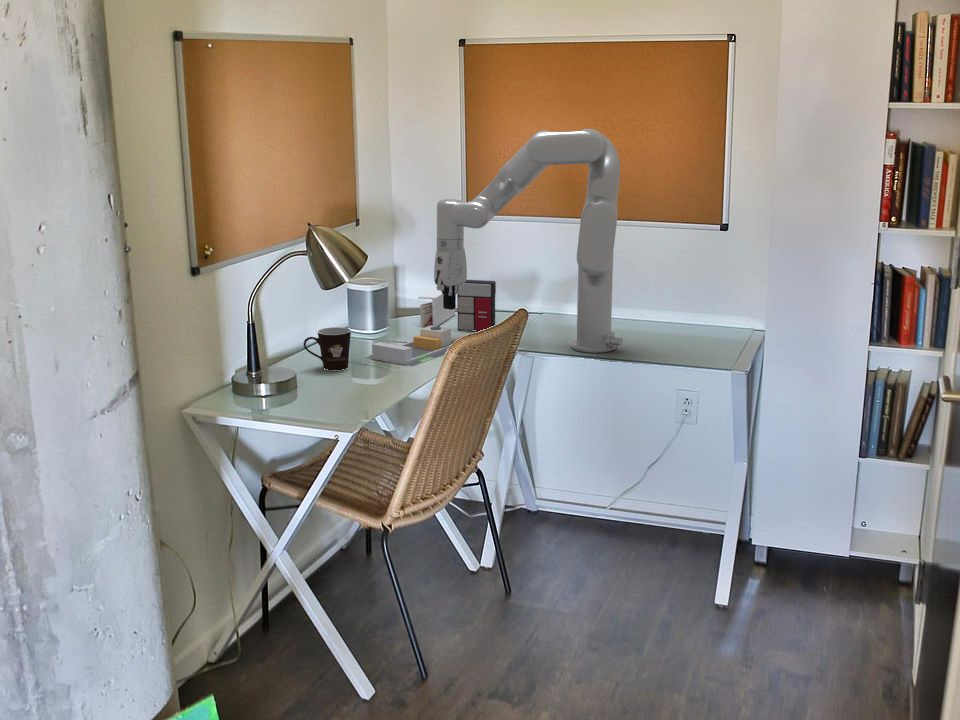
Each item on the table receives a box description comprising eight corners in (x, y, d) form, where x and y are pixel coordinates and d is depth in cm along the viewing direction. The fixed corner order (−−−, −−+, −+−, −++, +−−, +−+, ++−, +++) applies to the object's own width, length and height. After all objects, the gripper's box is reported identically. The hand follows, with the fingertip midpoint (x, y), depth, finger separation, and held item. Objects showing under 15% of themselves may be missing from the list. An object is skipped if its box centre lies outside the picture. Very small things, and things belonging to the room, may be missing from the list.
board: (421, 343, 307) (421, 325, 306) (467, 350, 299) (467, 332, 297) (365, 362, 287) (364, 343, 286) (412, 370, 279) (412, 351, 277)
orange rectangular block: (418, 345, 299) (417, 335, 299) (441, 349, 295) (441, 339, 294) (413, 347, 298) (413, 336, 297) (436, 351, 293) (436, 340, 293)
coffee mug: (356, 364, 285) (355, 327, 282) (346, 373, 277) (344, 335, 274) (315, 362, 287) (313, 326, 285) (303, 371, 279) (301, 333, 277)
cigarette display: (438, 314, 345) (438, 285, 343) (455, 315, 343) (454, 286, 341) (417, 328, 327) (416, 297, 324) (434, 329, 325) (434, 298, 323)
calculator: (456, 331, 322) (456, 281, 318) (461, 327, 326) (460, 279, 322) (491, 333, 319) (491, 283, 315) (495, 330, 323) (495, 280, 319)
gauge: (431, 341, 303) (430, 324, 302) (451, 344, 300) (451, 327, 298) (420, 344, 299) (420, 327, 298) (440, 348, 296) (440, 331, 294)
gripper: (445, 248, 291) (444, 315, 295) (476, 242, 303) (475, 306, 307) (423, 246, 295) (422, 311, 299) (454, 239, 307) (453, 302, 311)
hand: (449, 308), depth 303 cm, fingers closed
